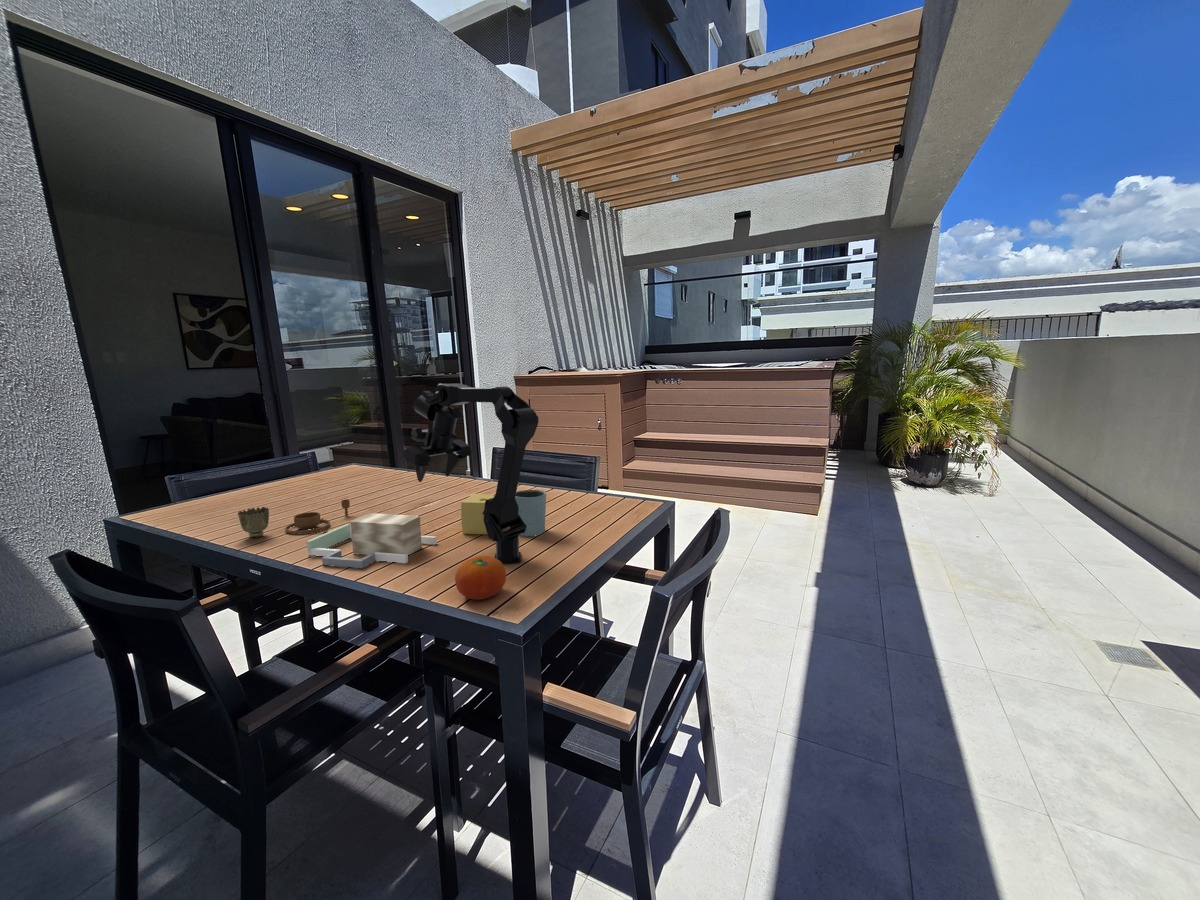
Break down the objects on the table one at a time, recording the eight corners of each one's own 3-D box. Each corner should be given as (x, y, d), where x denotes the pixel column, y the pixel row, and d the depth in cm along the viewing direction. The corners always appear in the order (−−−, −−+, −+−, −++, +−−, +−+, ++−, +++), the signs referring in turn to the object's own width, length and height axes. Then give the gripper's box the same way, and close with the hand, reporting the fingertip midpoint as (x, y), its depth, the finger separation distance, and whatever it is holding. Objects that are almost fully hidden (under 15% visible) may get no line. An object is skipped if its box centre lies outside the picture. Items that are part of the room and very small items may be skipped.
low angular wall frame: (445, 537, 141) (444, 524, 141) (393, 571, 117) (392, 555, 116) (359, 531, 146) (358, 519, 146) (292, 563, 122) (291, 547, 122)
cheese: (505, 524, 154) (504, 493, 152) (494, 535, 143) (493, 502, 141) (473, 523, 155) (471, 493, 153) (460, 534, 144) (458, 501, 142)
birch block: (421, 547, 133) (419, 515, 132) (404, 558, 126) (402, 524, 124) (372, 544, 136) (370, 513, 135) (353, 554, 128) (350, 521, 127)
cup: (239, 536, 143) (236, 509, 142) (269, 530, 148) (266, 505, 146) (242, 542, 137) (239, 515, 136) (273, 536, 142) (270, 510, 141)
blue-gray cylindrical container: (532, 539, 139) (531, 499, 137) (505, 534, 144) (504, 494, 143) (553, 530, 148) (553, 491, 146) (527, 525, 153) (527, 487, 151)
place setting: (280, 527, 153) (278, 509, 152) (349, 515, 166) (348, 498, 165) (291, 541, 140) (289, 521, 139) (365, 527, 153) (364, 508, 152)
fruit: (467, 583, 110) (466, 549, 109) (512, 585, 109) (511, 551, 108) (448, 605, 100) (446, 568, 98) (497, 608, 98) (496, 570, 97)
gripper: (452, 413, 143) (442, 461, 149) (395, 418, 128) (386, 471, 133) (477, 429, 138) (466, 477, 143) (421, 436, 123) (411, 490, 128)
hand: (433, 478), depth 137 cm, fingers open, 9 cm apart
